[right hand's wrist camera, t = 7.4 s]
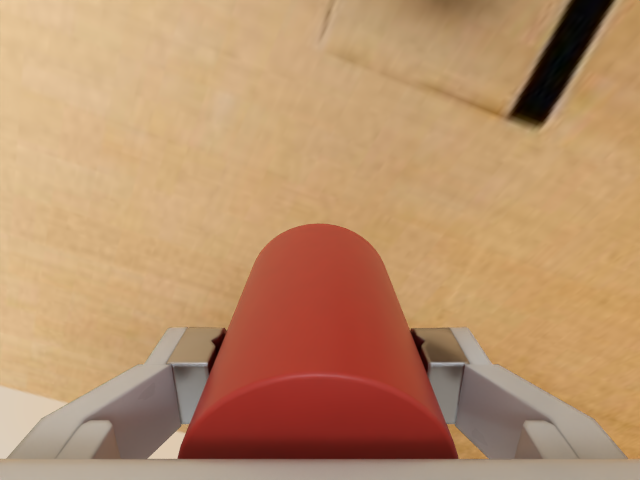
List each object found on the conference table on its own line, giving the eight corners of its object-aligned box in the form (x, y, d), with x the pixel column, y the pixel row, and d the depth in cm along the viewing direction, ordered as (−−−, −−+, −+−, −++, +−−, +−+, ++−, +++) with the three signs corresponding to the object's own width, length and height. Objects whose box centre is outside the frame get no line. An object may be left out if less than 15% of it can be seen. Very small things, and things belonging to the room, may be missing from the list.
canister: (253, 215, 13) (171, 359, 6) (399, 231, 13) (495, 390, 6) (247, 339, 15) (176, 568, 7) (375, 351, 15) (427, 585, 8)
